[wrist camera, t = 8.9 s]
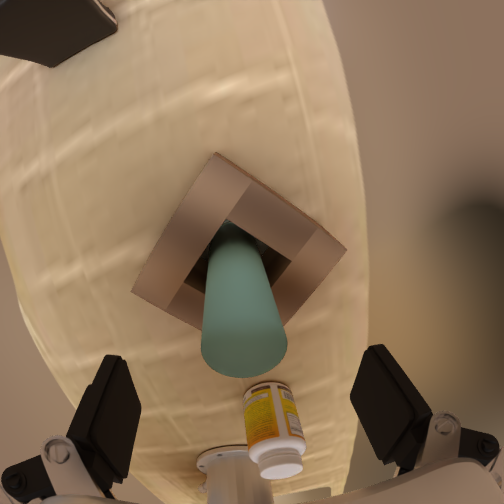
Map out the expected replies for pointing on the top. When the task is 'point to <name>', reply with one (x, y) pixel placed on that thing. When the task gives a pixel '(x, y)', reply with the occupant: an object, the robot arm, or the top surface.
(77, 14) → the battery charger
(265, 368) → the dowel
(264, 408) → the supplement bottle
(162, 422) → the top surface
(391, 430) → the robot arm
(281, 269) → the socket block
